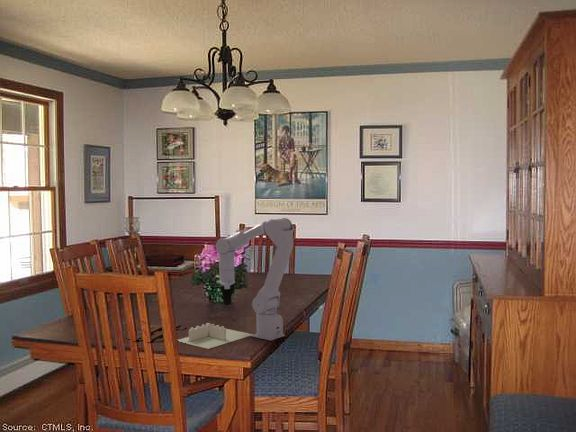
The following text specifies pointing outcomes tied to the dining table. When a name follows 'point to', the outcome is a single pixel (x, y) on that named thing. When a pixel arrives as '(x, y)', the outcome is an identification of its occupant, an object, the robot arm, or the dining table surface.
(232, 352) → the dining table surface
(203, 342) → the card
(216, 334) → the folding fence panel
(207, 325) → the fence post and fixed panel
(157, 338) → the decorative fence
